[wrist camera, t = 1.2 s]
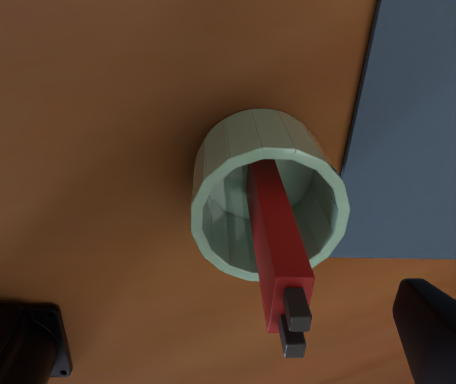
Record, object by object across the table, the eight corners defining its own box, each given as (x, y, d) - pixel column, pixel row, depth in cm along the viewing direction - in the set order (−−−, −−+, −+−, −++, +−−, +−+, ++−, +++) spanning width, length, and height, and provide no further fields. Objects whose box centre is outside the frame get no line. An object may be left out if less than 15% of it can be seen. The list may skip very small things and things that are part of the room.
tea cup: (309, 222, 22) (333, 282, 18) (194, 219, 22) (190, 280, 18) (329, 110, 19) (364, 150, 15) (195, 105, 19) (191, 145, 14)
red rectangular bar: (267, 193, 21) (312, 366, 12) (245, 193, 21) (272, 366, 12) (272, 152, 20) (326, 308, 10) (248, 151, 20) (281, 307, 10)
